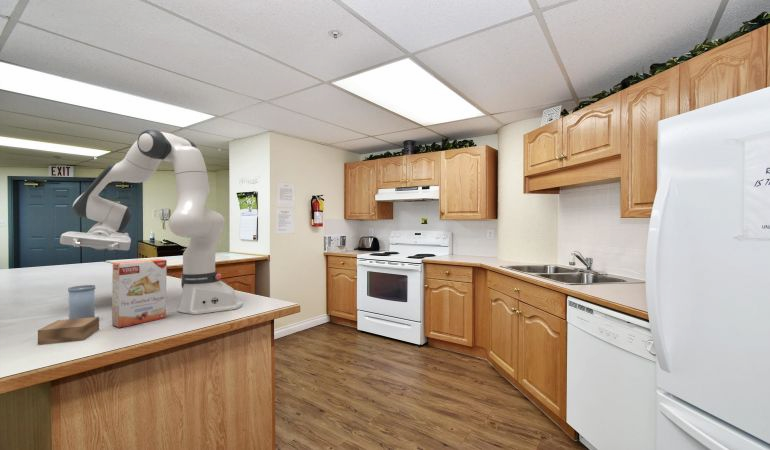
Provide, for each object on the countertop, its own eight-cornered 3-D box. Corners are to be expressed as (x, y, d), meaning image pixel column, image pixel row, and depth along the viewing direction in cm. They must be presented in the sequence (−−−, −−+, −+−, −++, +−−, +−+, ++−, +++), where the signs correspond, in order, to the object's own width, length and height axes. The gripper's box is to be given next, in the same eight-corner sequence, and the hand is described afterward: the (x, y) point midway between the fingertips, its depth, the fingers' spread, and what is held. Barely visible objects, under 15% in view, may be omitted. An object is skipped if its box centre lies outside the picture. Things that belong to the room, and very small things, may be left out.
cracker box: (119, 328, 104) (118, 263, 104) (111, 325, 107) (111, 262, 107) (167, 318, 116) (167, 259, 116) (159, 315, 119) (159, 258, 119)
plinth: (99, 329, 103) (99, 316, 103) (83, 340, 94) (83, 326, 94) (58, 333, 100) (57, 320, 100) (37, 344, 90) (37, 330, 90)
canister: (99, 318, 115) (99, 284, 115) (90, 324, 108) (89, 288, 108) (74, 320, 112) (74, 285, 112) (63, 326, 106) (63, 289, 106)
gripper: (66, 225, 124) (56, 233, 113) (133, 233, 136) (130, 241, 125) (63, 241, 125) (52, 251, 113) (130, 248, 136) (127, 257, 125)
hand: (94, 246), depth 119 cm, fingers open, 8 cm apart
